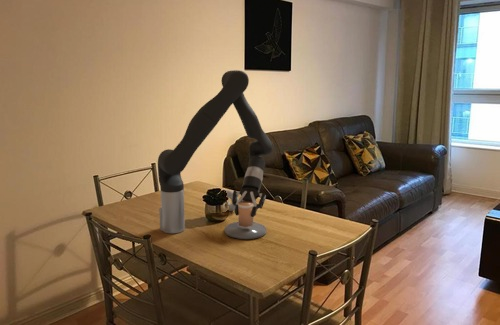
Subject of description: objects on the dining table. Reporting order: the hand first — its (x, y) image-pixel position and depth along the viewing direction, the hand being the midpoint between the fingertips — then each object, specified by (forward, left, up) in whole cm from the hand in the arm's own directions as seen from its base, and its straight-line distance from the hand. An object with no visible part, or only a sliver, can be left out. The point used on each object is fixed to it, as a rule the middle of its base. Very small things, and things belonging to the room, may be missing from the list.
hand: (244, 215), depth 168 cm
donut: (-15, +25, -8) cm, 30 cm away
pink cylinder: (0, +2, -4) cm, 5 cm away
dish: (0, +2, -8) cm, 8 cm away
